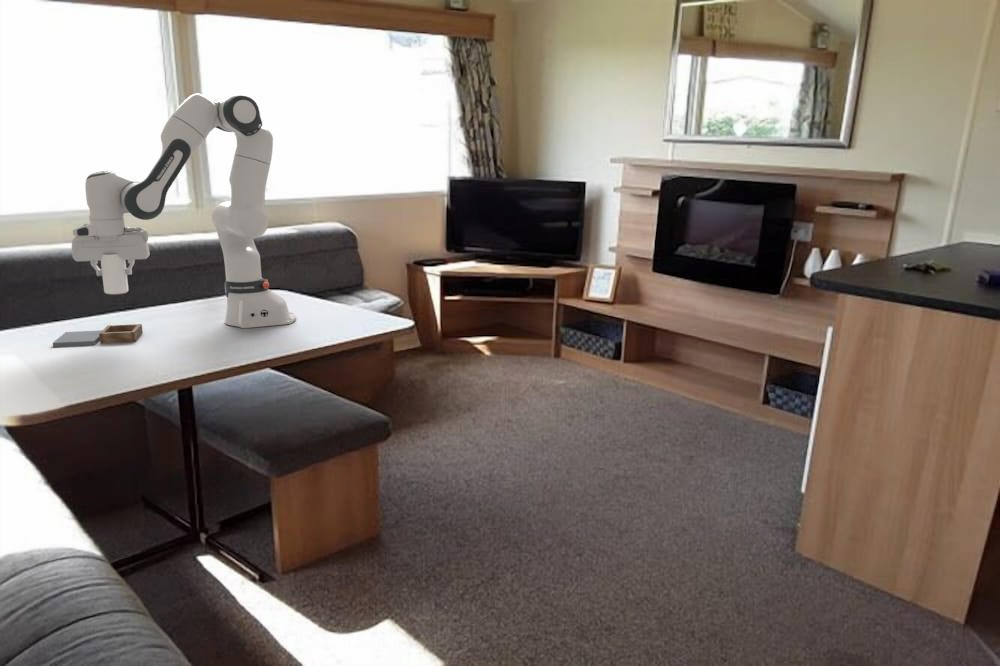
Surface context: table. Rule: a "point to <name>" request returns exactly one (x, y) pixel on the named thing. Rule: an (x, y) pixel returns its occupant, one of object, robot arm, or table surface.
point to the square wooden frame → (121, 333)
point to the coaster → (77, 338)
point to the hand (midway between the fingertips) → (114, 274)
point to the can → (114, 274)
